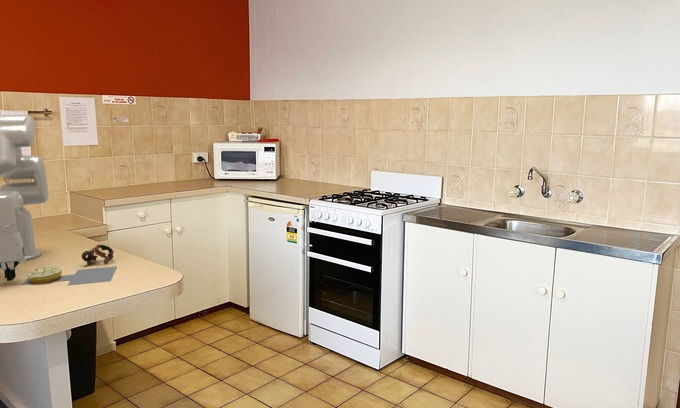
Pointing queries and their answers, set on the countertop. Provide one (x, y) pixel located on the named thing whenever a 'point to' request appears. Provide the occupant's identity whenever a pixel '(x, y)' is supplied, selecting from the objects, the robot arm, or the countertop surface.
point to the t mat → (85, 276)
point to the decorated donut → (44, 274)
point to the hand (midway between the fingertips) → (10, 279)
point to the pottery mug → (92, 257)
